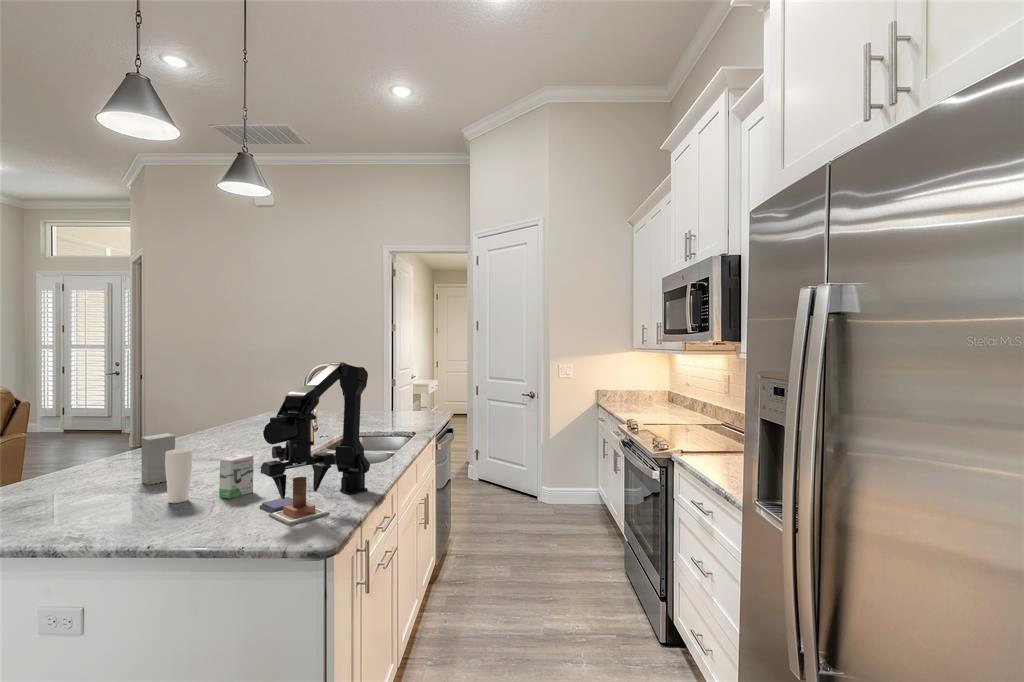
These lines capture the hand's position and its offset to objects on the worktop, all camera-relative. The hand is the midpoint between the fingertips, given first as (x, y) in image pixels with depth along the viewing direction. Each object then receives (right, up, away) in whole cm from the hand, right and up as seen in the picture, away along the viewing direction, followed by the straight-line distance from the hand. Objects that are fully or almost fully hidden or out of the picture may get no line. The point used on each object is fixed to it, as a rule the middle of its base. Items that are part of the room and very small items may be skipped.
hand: (299, 494), depth 139 cm
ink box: (-28, -6, +19) cm, 34 cm away
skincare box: (-62, -6, +34) cm, 71 cm away
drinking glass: (-41, -6, +12) cm, 43 cm away
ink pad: (-8, -6, +7) cm, 12 cm away
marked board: (0, -6, 0) cm, 6 cm away
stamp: (0, -5, 0) cm, 5 cm away
